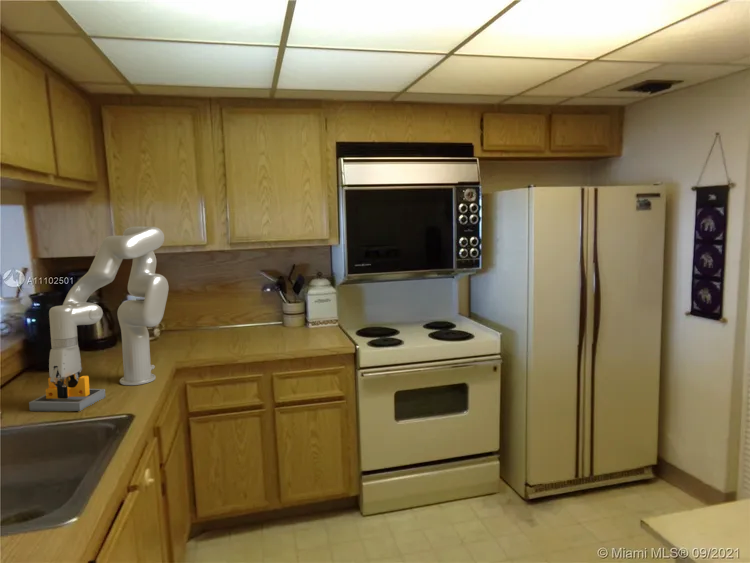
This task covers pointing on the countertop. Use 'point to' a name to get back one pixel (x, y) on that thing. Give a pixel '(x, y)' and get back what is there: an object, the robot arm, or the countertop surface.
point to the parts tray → (67, 402)
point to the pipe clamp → (70, 389)
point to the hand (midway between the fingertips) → (68, 394)
